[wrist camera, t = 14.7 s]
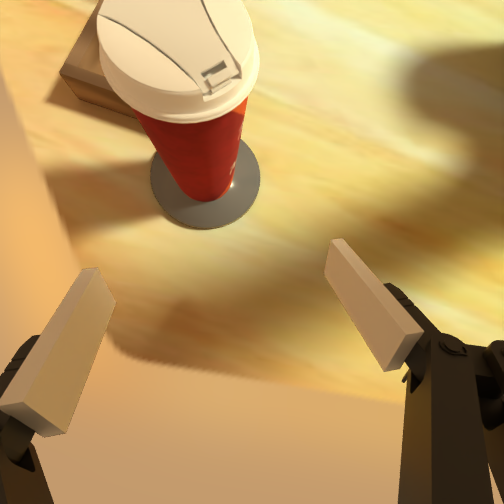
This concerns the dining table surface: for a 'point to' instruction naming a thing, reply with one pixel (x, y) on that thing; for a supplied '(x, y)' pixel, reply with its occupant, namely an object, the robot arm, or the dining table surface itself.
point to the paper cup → (184, 81)
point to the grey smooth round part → (213, 211)
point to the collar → (91, 71)
